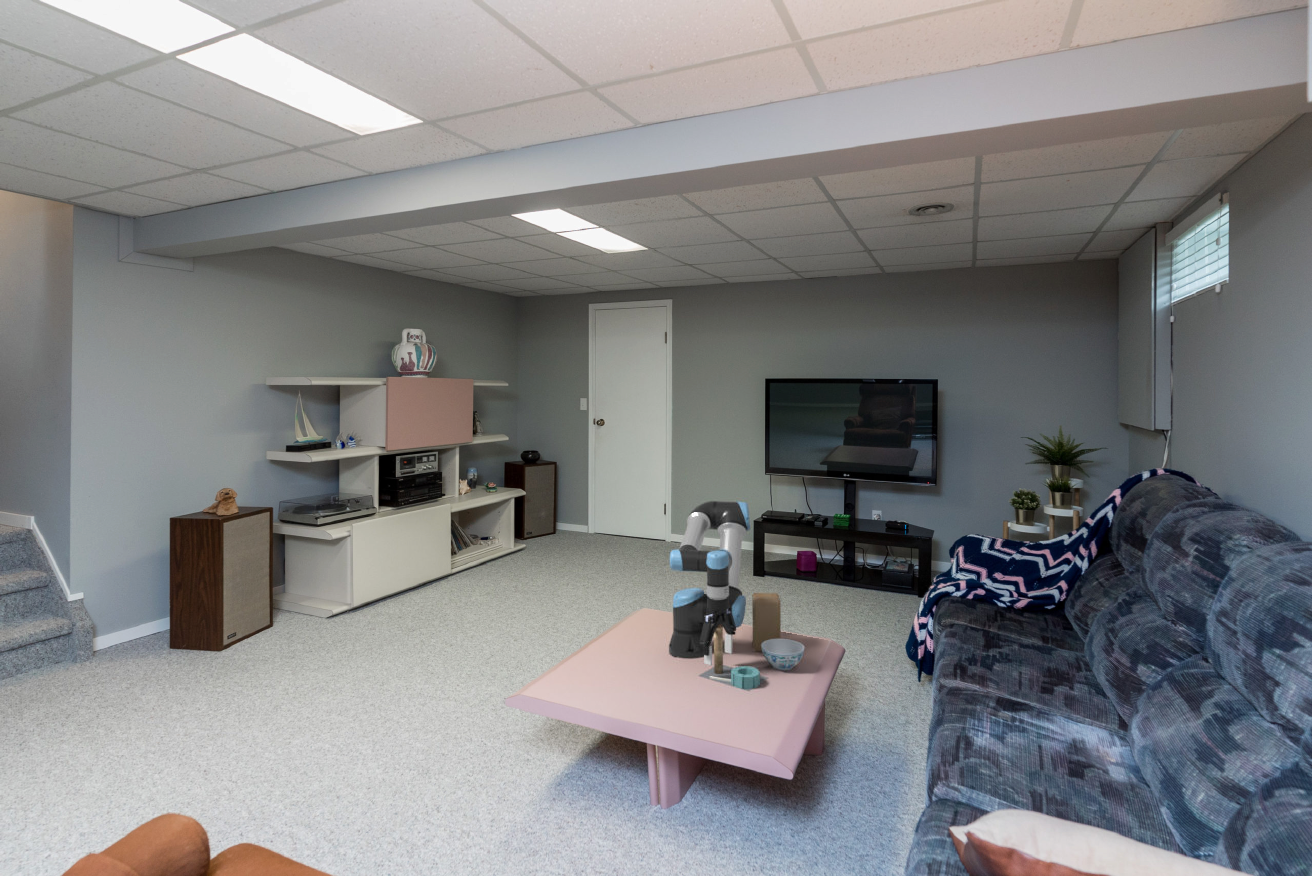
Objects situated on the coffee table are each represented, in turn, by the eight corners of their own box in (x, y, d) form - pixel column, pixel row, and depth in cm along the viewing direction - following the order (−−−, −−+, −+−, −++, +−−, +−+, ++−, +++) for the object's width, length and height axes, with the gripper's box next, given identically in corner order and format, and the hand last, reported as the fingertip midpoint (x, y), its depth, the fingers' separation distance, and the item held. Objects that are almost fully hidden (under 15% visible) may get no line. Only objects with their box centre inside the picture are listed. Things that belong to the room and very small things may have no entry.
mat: (698, 676, 234) (698, 675, 234) (719, 664, 244) (719, 663, 244) (748, 692, 221) (748, 690, 221) (768, 678, 231) (768, 677, 231)
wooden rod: (712, 672, 236) (712, 623, 235) (717, 669, 239) (717, 620, 237) (719, 674, 234) (719, 625, 233) (724, 672, 237) (724, 622, 236)
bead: (726, 684, 227) (726, 672, 226) (741, 675, 234) (740, 663, 233) (750, 691, 221) (749, 679, 221) (764, 682, 228) (764, 670, 228)
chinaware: (802, 678, 232) (802, 656, 231) (758, 673, 236) (758, 651, 236) (806, 661, 246) (806, 640, 245) (764, 657, 250) (764, 636, 250)
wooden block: (778, 643, 264) (778, 592, 263) (780, 653, 254) (780, 600, 253) (752, 642, 265) (752, 592, 264) (753, 652, 255) (753, 599, 254)
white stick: (709, 678, 232) (709, 676, 232) (710, 677, 232) (710, 675, 232) (732, 681, 228) (732, 680, 228) (732, 681, 229) (732, 679, 229)
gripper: (706, 607, 223) (707, 672, 224) (746, 590, 242) (746, 650, 243) (688, 603, 228) (688, 666, 229) (728, 586, 247) (728, 645, 248)
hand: (718, 658), depth 236 cm, fingers open, 12 cm apart
